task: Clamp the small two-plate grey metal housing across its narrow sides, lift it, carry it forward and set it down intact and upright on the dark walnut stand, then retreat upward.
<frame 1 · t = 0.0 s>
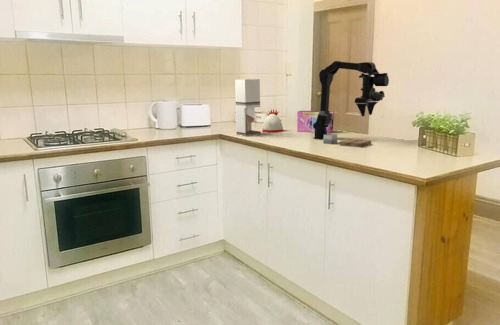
hand: (366, 115, 223), 15 cm above the worktop, fingers open, 9 cm apart
gum box: (314, 132, 273), on the worktop
white dome: (272, 131, 281), on the worktop
coffee grinder: (248, 135, 266), on the worktop
walnut stand: (355, 144, 220), on the worktop
housing: (330, 143, 227), on the worktop
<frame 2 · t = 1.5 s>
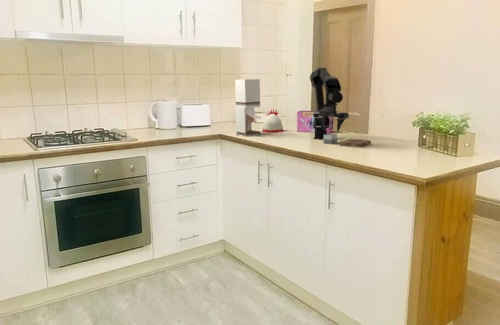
hand: (330, 130, 226), 7 cm above the worktop, fingers open, 9 cm apart
nothing on the worktop moved.
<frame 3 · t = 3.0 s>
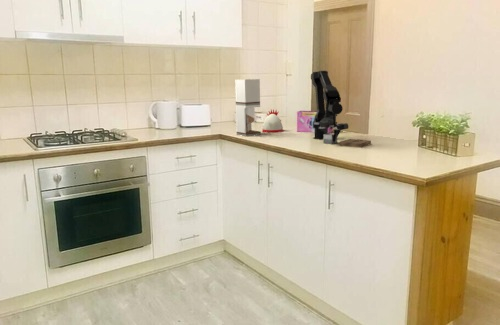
hand: (330, 141, 227), 1 cm above the worktop, fingers closed on housing, 5 cm apart
housing: (330, 143, 227), on the worktop, touching gripper
everything else where it was.
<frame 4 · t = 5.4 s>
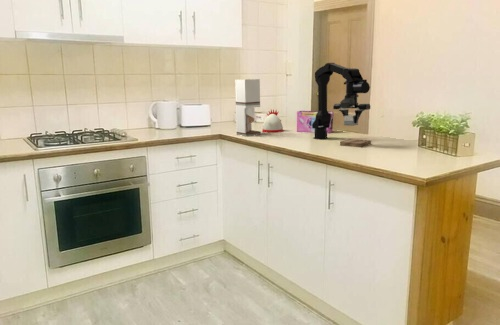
hand: (351, 123, 218), 12 cm above the worktop, fingers closed on housing, 5 cm apart
housing: (351, 125, 218), point 10 cm above the worktop, touching gripper
everything else where it was.
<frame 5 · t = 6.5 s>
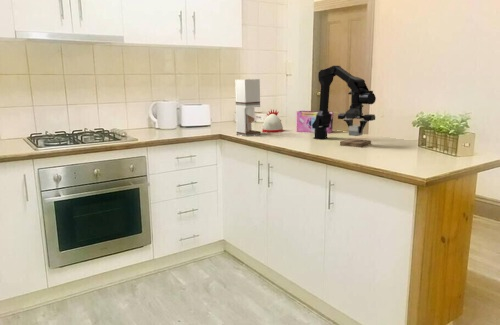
hand: (355, 133, 218), 6 cm above the worktop, fingers closed on housing, 5 cm apart
housing: (355, 135, 218), point 5 cm above the worktop, touching gripper
everything else where it was.
when the fingers open (4 cm above the worktop, at t = 7.6 s): housing drops 1 cm, resting on walnut stand.
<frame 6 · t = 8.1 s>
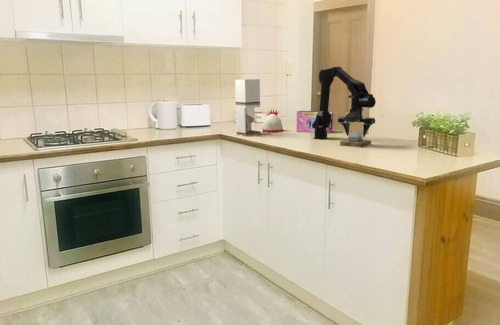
hand: (355, 136, 219), 4 cm above the worktop, fingers open, 9 cm apart
housing: (355, 141, 219), point 2 cm above the worktop, touching walnut stand
everything else where it was.
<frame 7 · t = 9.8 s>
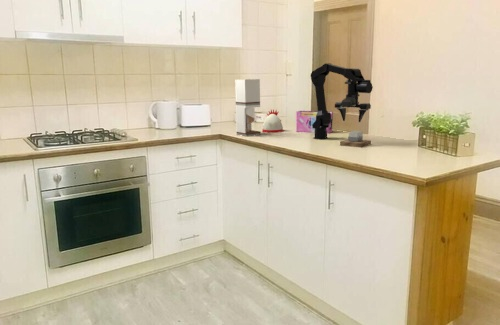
hand: (351, 121, 225), 12 cm above the worktop, fingers open, 9 cm apart
nothing on the worktop moved.
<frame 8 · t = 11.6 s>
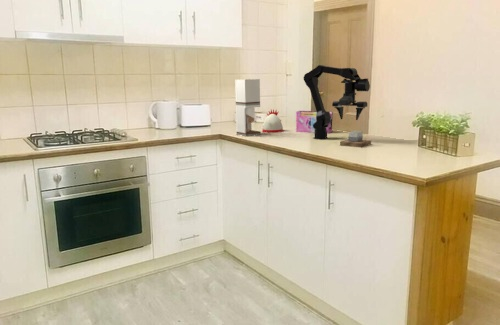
hand: (349, 119, 230), 12 cm above the worktop, fingers open, 9 cm apart
nothing on the worktop moved.
at the end: housing inside the target area (0.1 cm from its centre), point 2.0 cm above the worktop; housing tilted 0°; the gripper is holding nothing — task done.
